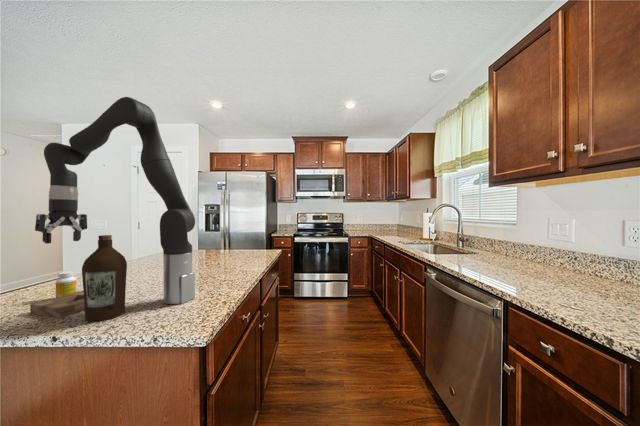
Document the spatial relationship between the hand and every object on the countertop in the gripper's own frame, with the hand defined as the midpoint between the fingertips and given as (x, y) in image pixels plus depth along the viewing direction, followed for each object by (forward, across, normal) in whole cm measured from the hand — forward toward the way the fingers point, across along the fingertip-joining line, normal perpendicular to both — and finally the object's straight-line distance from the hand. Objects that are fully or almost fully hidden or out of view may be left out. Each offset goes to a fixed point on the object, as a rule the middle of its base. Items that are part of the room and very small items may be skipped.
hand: (62, 242), depth 92 cm
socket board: (+21, -5, -14) cm, 26 cm away
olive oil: (+21, -8, -32) cm, 39 cm away
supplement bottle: (+22, +1, 0) cm, 22 cm away
